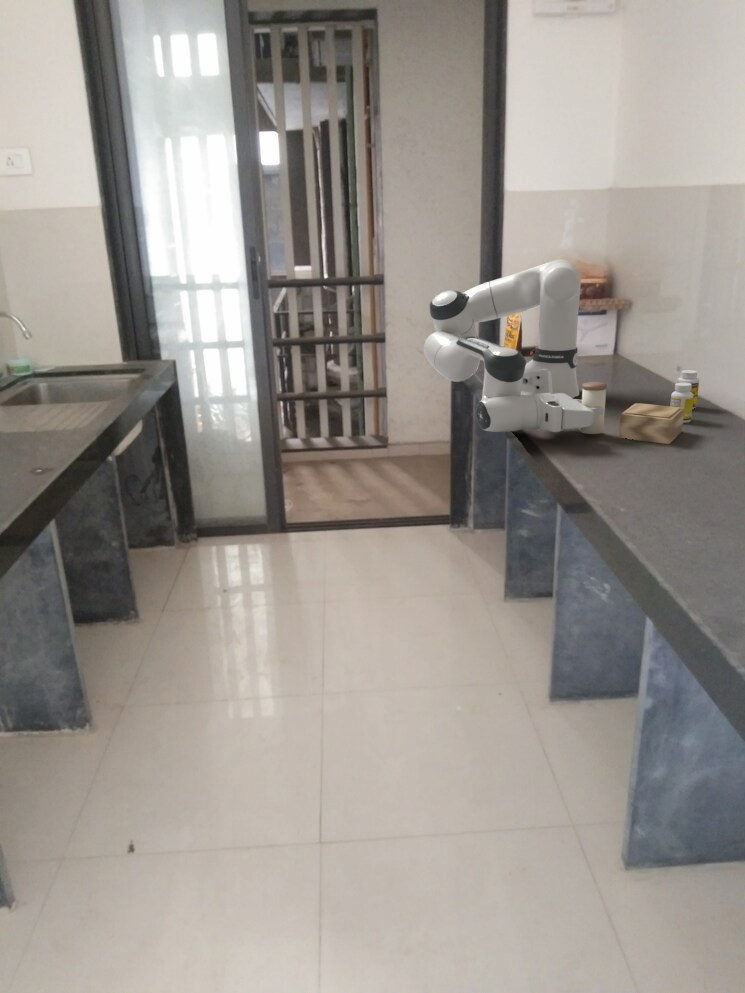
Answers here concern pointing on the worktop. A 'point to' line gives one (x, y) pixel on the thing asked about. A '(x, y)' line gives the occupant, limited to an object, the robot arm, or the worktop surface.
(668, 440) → the oak block
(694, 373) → the supplement bottle
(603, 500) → the worktop surface
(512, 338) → the pancake mix bag
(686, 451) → the worktop surface
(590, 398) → the cream tin
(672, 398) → the supplement bottle
